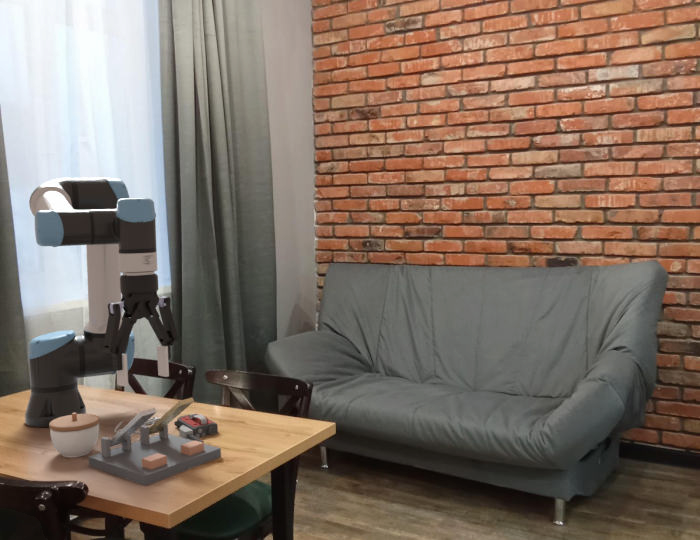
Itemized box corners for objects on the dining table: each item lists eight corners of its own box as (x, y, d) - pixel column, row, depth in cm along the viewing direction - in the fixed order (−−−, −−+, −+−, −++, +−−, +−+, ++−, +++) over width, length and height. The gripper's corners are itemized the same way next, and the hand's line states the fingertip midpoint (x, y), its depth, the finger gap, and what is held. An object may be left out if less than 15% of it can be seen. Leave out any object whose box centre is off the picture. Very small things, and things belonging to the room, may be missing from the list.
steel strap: (108, 449, 150) (105, 442, 151) (122, 444, 153) (119, 438, 153) (143, 417, 141) (140, 410, 142) (157, 413, 144) (154, 406, 145)
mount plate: (88, 465, 149) (87, 438, 149) (164, 440, 165) (163, 416, 165) (145, 485, 137) (143, 456, 137) (220, 456, 153) (219, 430, 153)
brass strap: (147, 436, 158) (144, 430, 158) (159, 432, 161) (156, 426, 161) (182, 406, 149) (179, 399, 150) (194, 402, 152) (191, 396, 153)
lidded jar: (99, 458, 154) (97, 417, 154) (47, 463, 151) (45, 422, 151) (102, 443, 165) (100, 404, 164) (54, 448, 162) (51, 409, 161)
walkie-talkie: (166, 429, 175) (198, 450, 159) (165, 412, 175) (197, 431, 159) (198, 423, 181) (232, 442, 164) (198, 406, 180) (232, 424, 164)
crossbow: (130, 443, 168) (130, 435, 168) (103, 433, 176) (102, 425, 176) (184, 423, 180) (183, 415, 180) (156, 415, 189) (155, 408, 188)
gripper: (101, 278, 131) (107, 394, 132) (192, 270, 148) (197, 372, 150) (79, 277, 135) (85, 389, 137) (170, 269, 153) (175, 368, 154)
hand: (143, 380), depth 143 cm, fingers open, 9 cm apart
